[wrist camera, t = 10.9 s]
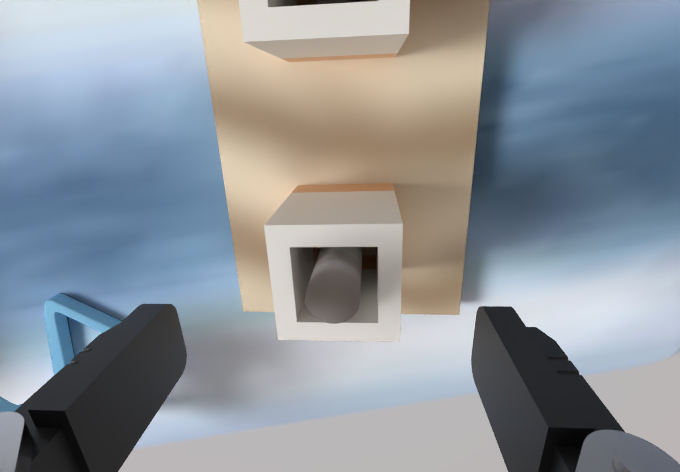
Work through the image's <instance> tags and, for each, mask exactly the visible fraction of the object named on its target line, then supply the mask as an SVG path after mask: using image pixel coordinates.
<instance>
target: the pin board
mask: <svg viewBox="0 0 680 472" xmlns="http://www.w3.org/2000/svg"><path fill="white" fill-rule="evenodd" d="M369 1H376V0H303V5H318V4H335V3H352V2H369ZM197 3H198V10H199V17H200V23H201V30H202V37H203V43H204V50H205V57H206V64H207V70H208V77H209V84H210V91H211V97H212V104H213V111H214V118H215V124H216V131H217V138H218V144H219V151H220V158H221V165H222V171H223V178H224V185H225V192H226V198H227V205H228V212H229V219H230V225H231V232H232V239H233V245H234V252H235V259H236V266H237V272H238V279H239V286H240V293H241V299H242V306H243V311H248V312H274V304H273V296H272V288H271V280H270V272H269V263H268V255H267V247H266V239H265V230H264V225H265V223H266V222H267V221H268V220H269V219H270V218H271V216H272V215H273V214H274V213H275V212H276V210H277V209H278V208H279V207H280V206H281V205H282V203H283V202H284V201H285V200H286V199H287V197H288V196H289V195H290V194H291V193H292V191H293V190H294V189H295V188H296V187H297V186H298V185H333V184H377V183H393V187H394V191H395V195H396V199H397V203H398V207H399V211H400V214H401V218H402V222H403V240H402V286H401V314H438V315H459V311H460V301H461V291H462V281H463V270H464V260H465V250H466V240H467V229H468V219H469V209H470V199H471V188H472V178H473V168H474V158H475V147H476V137H477V127H478V117H479V107H480V96H481V86H482V76H483V66H484V55H485V45H486V35H487V25H488V14H489V4H490V0H410V15H409V34H408V36H407V38H406V39H405V41H404V43H403V45H402V46H401V48H400V50H399V51H398V53H397V55H396V57H392V58H369V59H347V60H325V61H303V62H287V61H285V60H283V59H280V58H278V57H276V56H274V55H271V54H269V53H267V52H265V51H262V50H260V49H258V48H256V47H253V46H251V45H249V44H247V43H244V42H243V35H242V26H241V18H240V9H239V0H197ZM362 256H376V247H318V257H317V260H316V263H315V266H314V269H313V272H312V275H311V278H310V281H309V284H308V287H307V290H306V293H305V304H306V307H307V309H308V310H309V312H310V313H311V314H312V315H313V316H314V317H315V318H316V319H318V320H320V321H322V322H325V323H330V324H337V323H342V322H345V321H347V320H349V319H351V318H352V317H353V316H354V315H355V314H356V312H357V311H358V308H359V305H360V289H361V271H362Z"/></svg>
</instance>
